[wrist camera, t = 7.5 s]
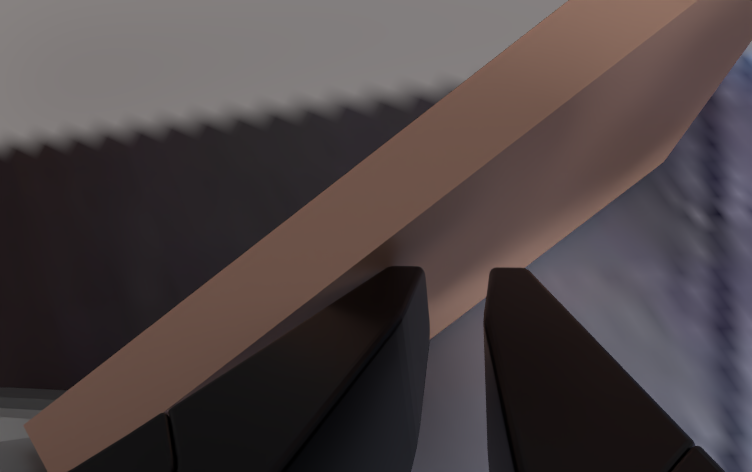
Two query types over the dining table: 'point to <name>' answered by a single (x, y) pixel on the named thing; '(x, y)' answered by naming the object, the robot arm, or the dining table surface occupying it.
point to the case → (22, 409)
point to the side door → (431, 203)
